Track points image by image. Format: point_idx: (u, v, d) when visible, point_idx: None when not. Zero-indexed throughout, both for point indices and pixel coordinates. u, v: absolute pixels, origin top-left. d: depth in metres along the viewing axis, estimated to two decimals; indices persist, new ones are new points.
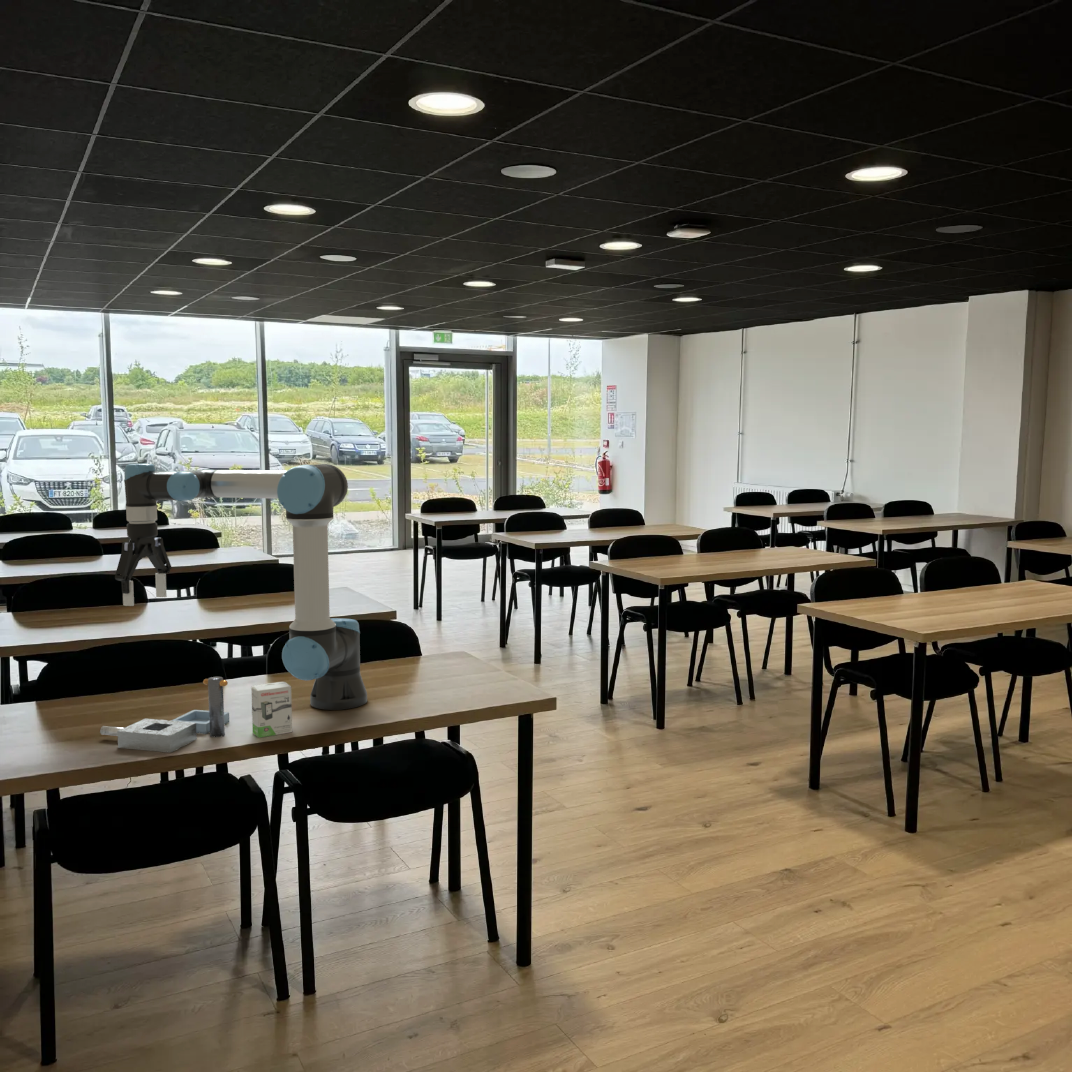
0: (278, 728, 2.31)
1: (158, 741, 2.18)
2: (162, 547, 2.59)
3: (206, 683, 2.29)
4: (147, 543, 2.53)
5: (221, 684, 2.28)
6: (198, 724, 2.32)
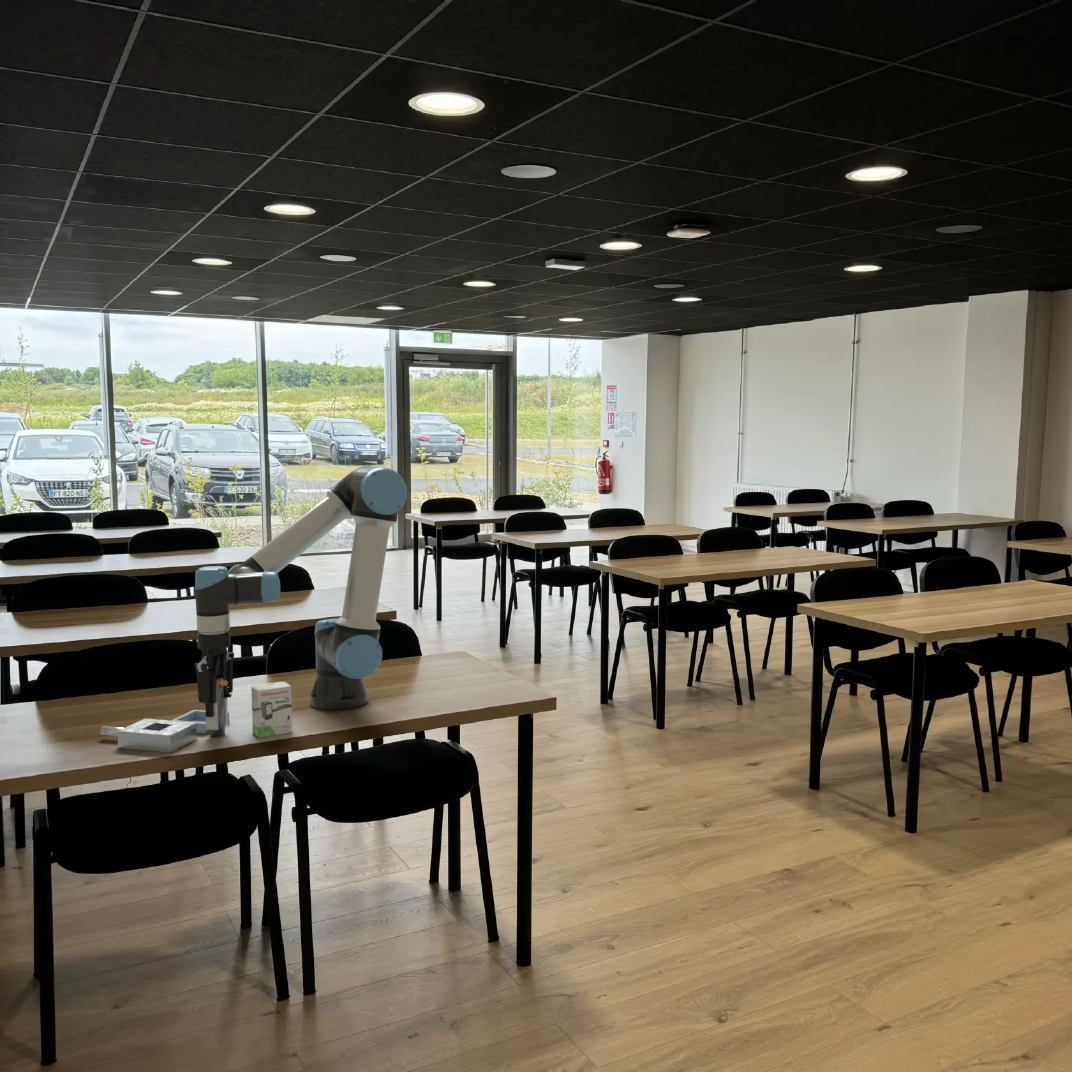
0: (278, 728, 2.31)
1: (158, 741, 2.18)
2: (231, 663, 2.34)
3: None
4: (219, 654, 2.29)
5: (221, 684, 2.28)
6: (198, 724, 2.32)
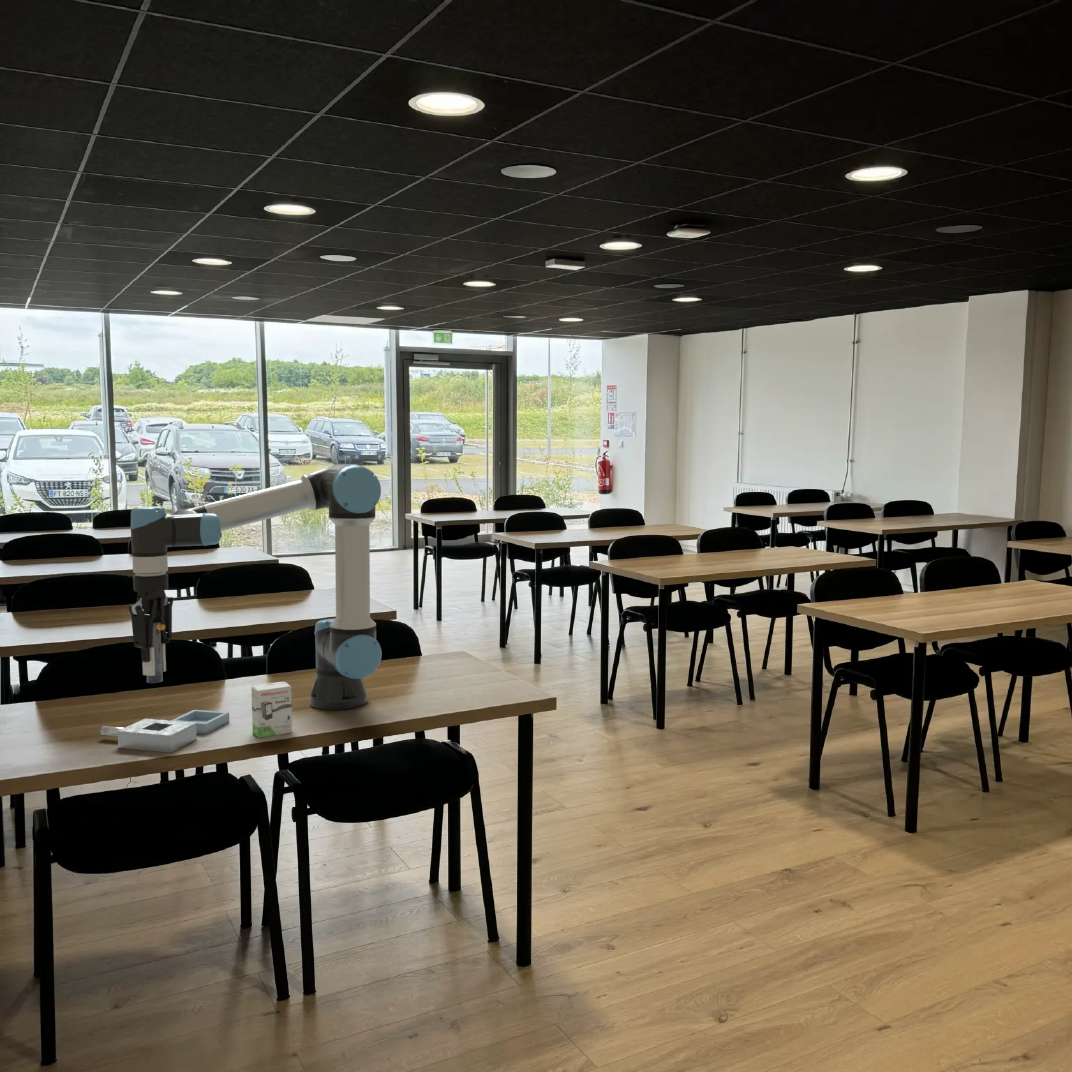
0: (278, 728, 2.31)
1: (158, 741, 2.18)
2: (170, 608, 2.26)
3: None
4: (156, 597, 2.21)
5: (158, 628, 2.20)
6: (198, 724, 2.32)
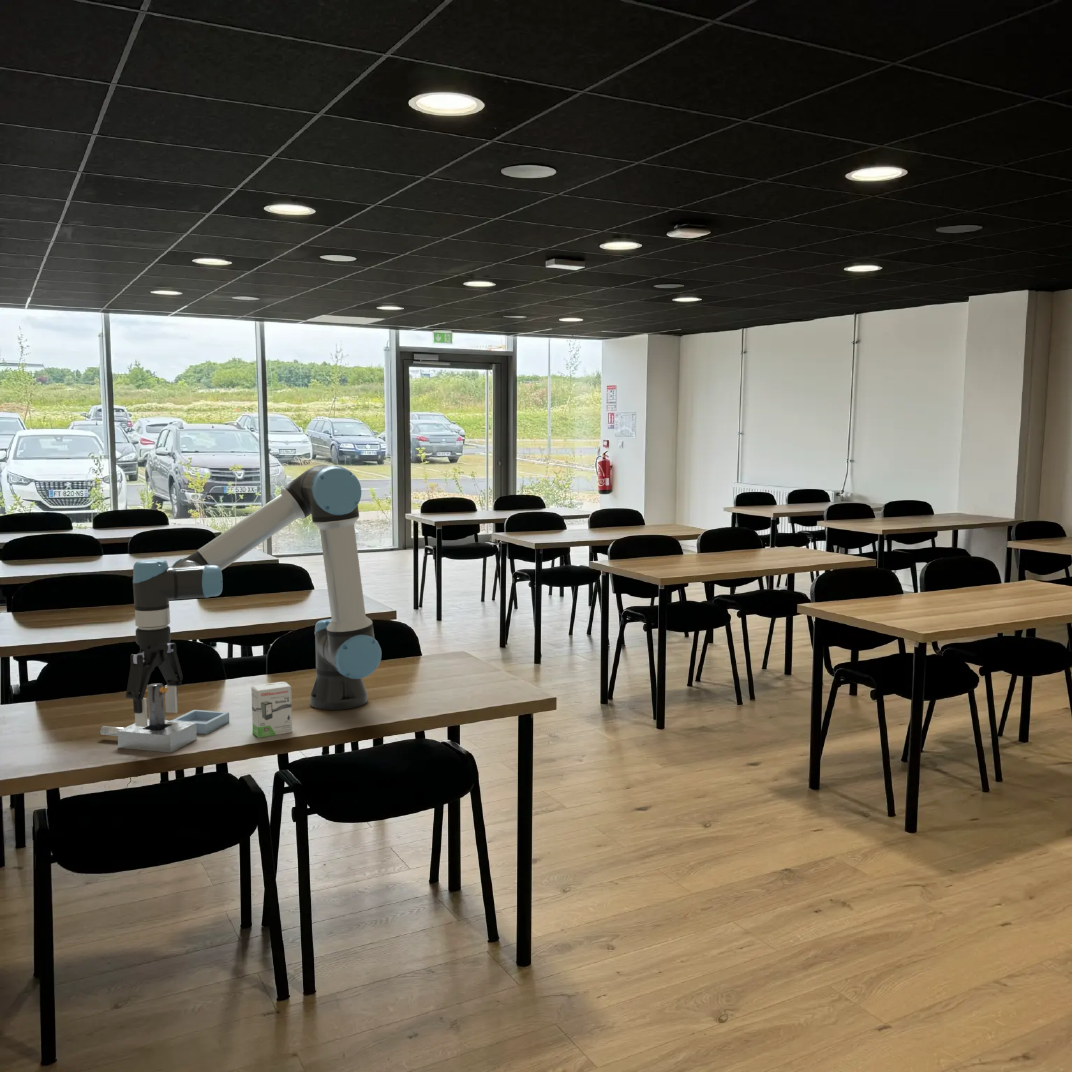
0: (278, 728, 2.31)
1: (158, 741, 2.18)
2: (175, 654, 2.28)
3: (146, 690, 2.23)
4: (159, 650, 2.22)
5: (161, 691, 2.22)
6: (198, 724, 2.32)
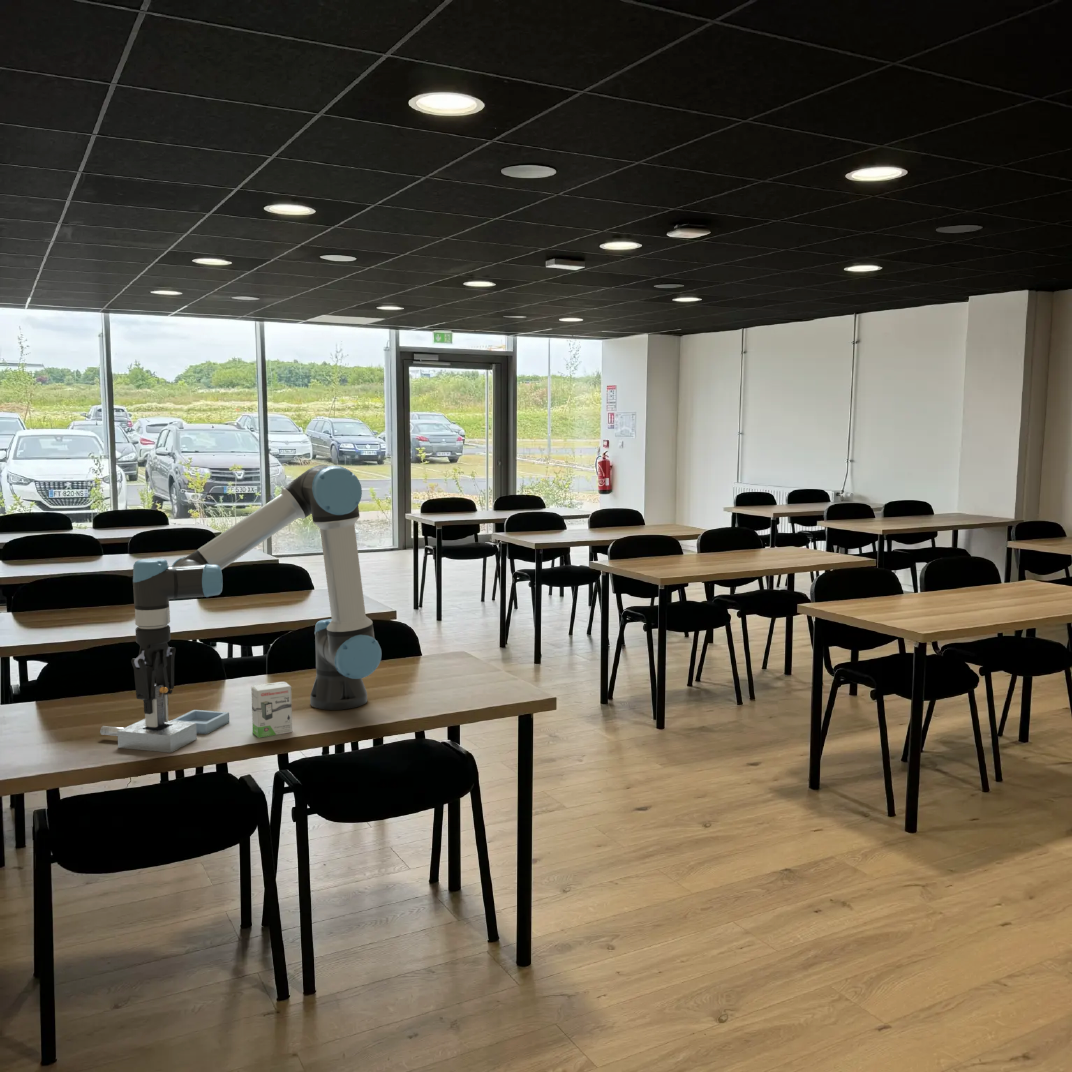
0: (278, 728, 2.31)
1: (158, 741, 2.18)
2: (172, 658, 2.27)
3: None
4: (159, 649, 2.22)
5: (161, 691, 2.22)
6: (198, 724, 2.32)
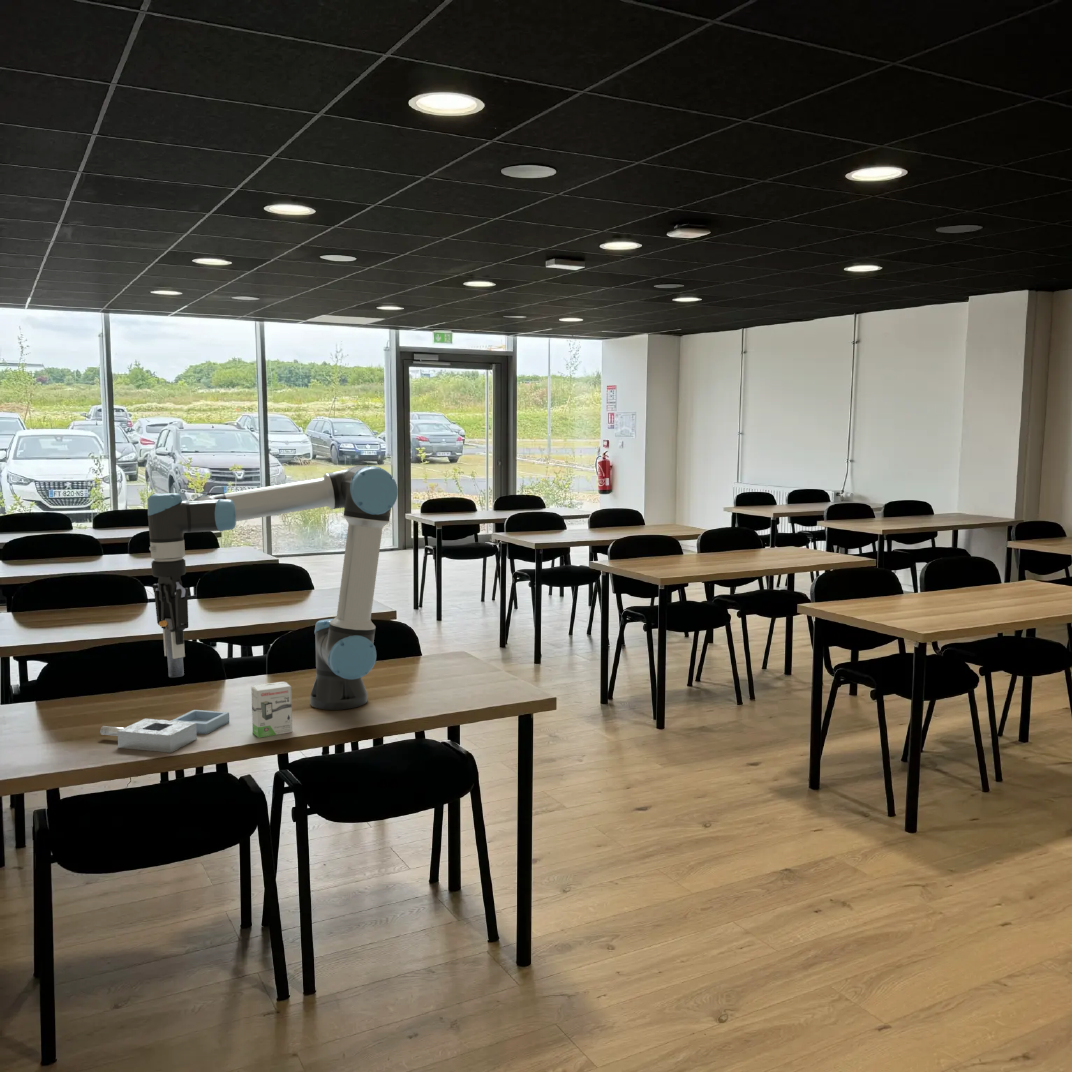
0: (278, 728, 2.31)
1: (158, 741, 2.18)
2: None
3: (165, 624, 2.25)
4: None
5: None
6: (198, 724, 2.32)
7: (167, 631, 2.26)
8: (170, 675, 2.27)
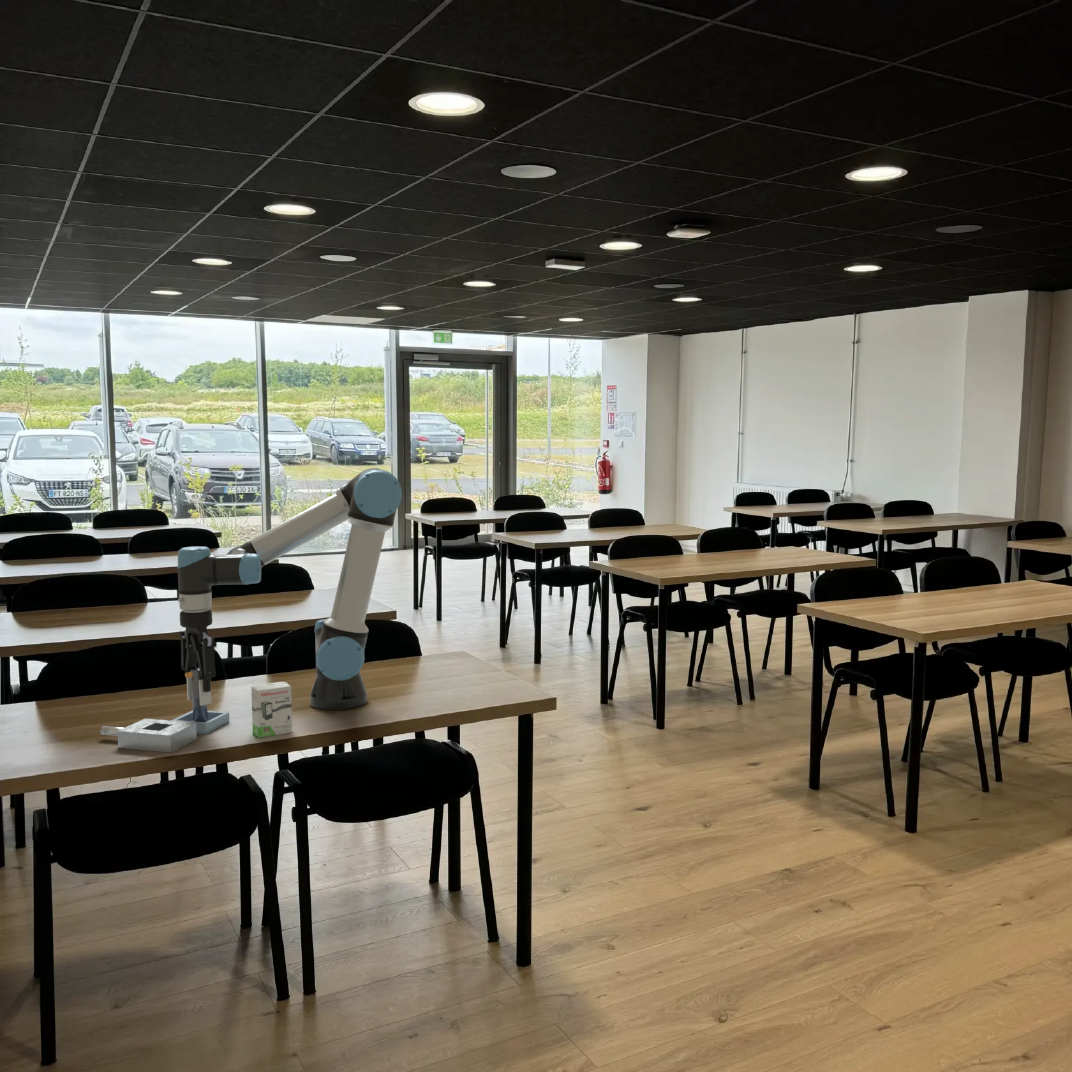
0: (278, 728, 2.31)
1: (158, 741, 2.18)
2: None
3: (190, 676, 2.34)
4: None
5: None
6: (198, 724, 2.32)
7: (193, 682, 2.35)
8: None
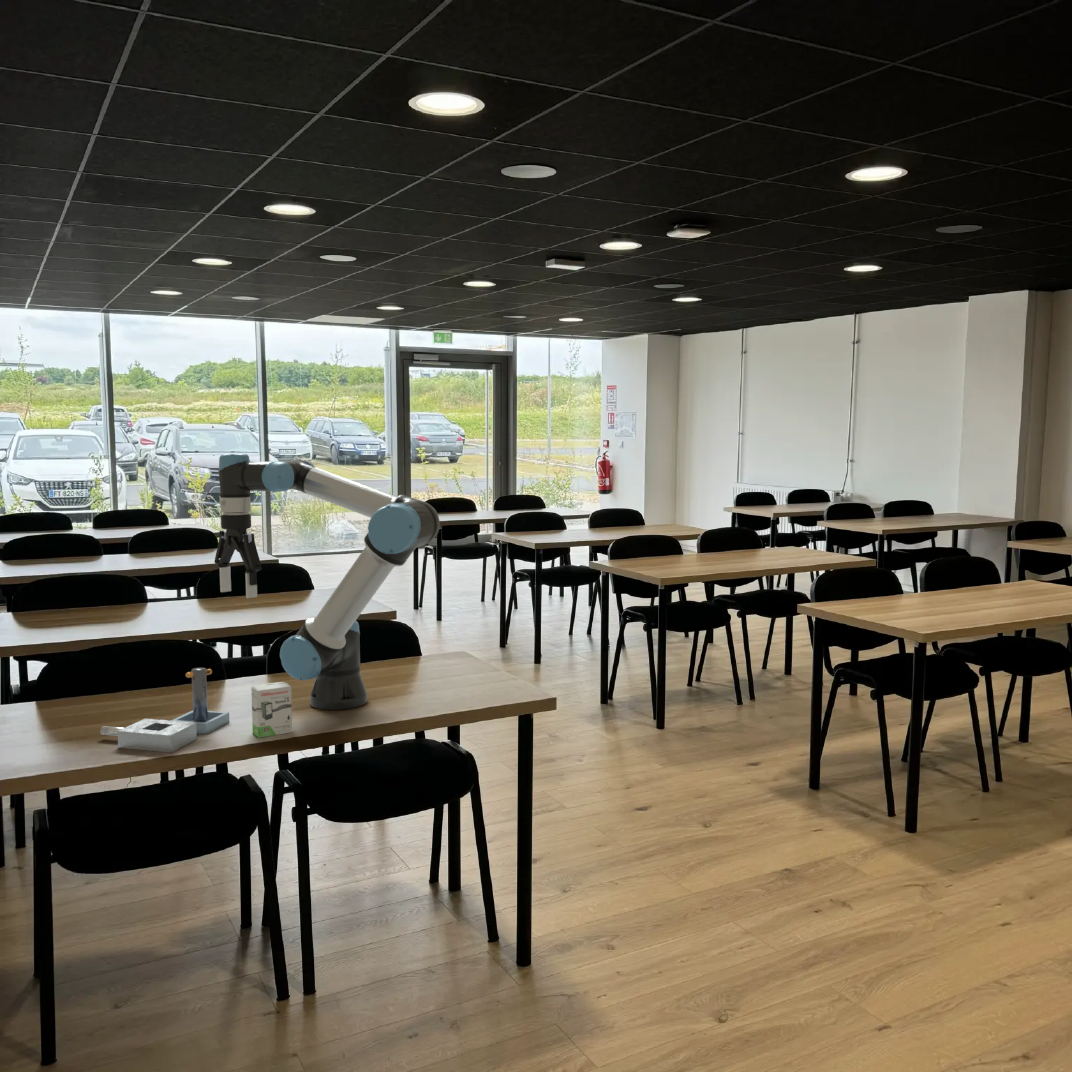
0: (278, 728, 2.31)
1: (158, 741, 2.18)
2: None
3: (191, 675, 2.34)
4: None
5: (208, 673, 2.37)
6: (198, 724, 2.32)
7: (193, 682, 2.35)
8: None
